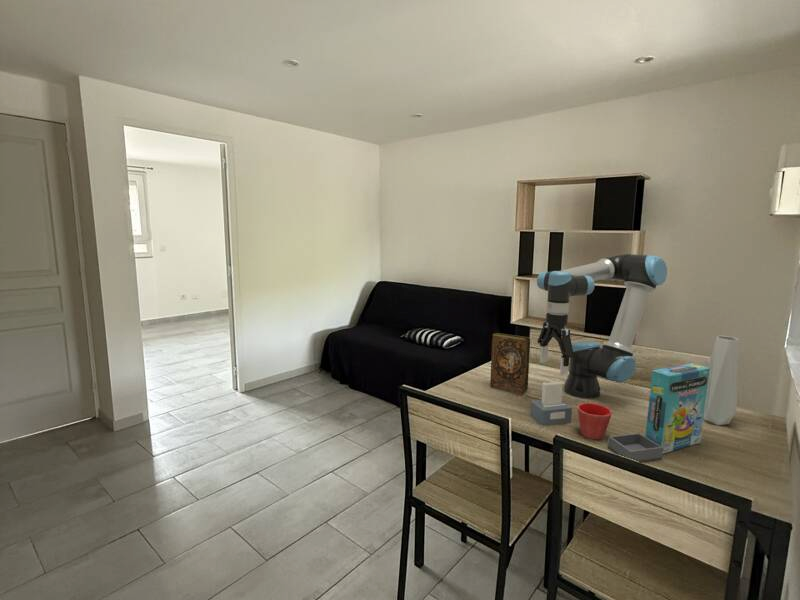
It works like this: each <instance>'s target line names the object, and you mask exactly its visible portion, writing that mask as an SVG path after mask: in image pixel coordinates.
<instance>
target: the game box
mask: <svg viewBox="0 0 800 600" xmlns="http://www.w3.org/2000/svg"><path fill="white" fill-rule="evenodd" d="M709 370H710V368H708V366H705V365H702V364H697V363H694V362H690V363H686V364H681V365H675V366H669V367H665V368H659V369H652V370H651V371H652V373H651V380H650V391H649V400H648V411H647V420H646V427H645V428H646V429H645V435H644V436H645V437H647V438H648V439H650V440H652V441H653V442H655V443H656V444H658V445H660V446H661V447H663V454H662V455H664V454H666V453H670V452H673V451H676V450H679V449H680V450H681V449H683V448H687V447H691V446H694V445H697V444H700V443H701V437H702V432H703V431H702V430H703V423H704V418H703V416H704V409H705V400H706V393H707V384H708V377H709Z"/></svg>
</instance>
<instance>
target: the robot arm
mask: <svg viewBox="0 0 800 600" xmlns="http://www.w3.org/2000/svg"><path fill="white" fill-rule="evenodd" d="M667 275H668V267H667V263H666V262H665V260H664V259H663V258H662V257H660V256H657V255H653V254H631V253H623V254H617V255H612V256H609V257H607V256H606V257H603V258H600V259H599V260H598V261H596V262H592V263H588V264H584V265H579V266H576V267H570V268H567V269H563V270H562V269H561V270H553V271H541V272H540V273H539V274H538V276H537V278H536V285H537V288H539V289H540V290H543V291H546V292H547V301H546V302H547V303H546V316H545V321H544V322H543V324H542V329H541V331H540V333H539V336H538V339H537V344H539V346H540V351H539V352H540V353H539V354H540V355H539V357H540V358H539V363H540V364H547V363H548V356H549V355H548V354H549V353H548V352H549V343H550V341H552V339H553V338H554V339H555V341H556V342H557V343H558V347H559V349H560V352H561V357H560V367H559V368H560V369H559V375H561V376H562V375H567V377H566V380H565V381H564V384H563V391H564V392H565V394H568V395H570V396H573V397H575V398H576V397H577V398H580V399H581V398H582V399H595V398H596V399H597V398H598V397H600V396H601V386H600V383H599V380H598V377H599V378H603V379H606V380H608V381H610V382H615V383H619V384H621V383H625V382H626V381H628V380H629V379H630V378H631V377H632V376H633V375H634V373H635V370H636V367H637V365H636V364H637V363H636V359H635V358H634V357H633V356H634V352H633V350H632V346H633V343H634V339H635V336H636V333H637V331H638V327H639V325H640V323H641V319H642V316H643V314H644V313H643V312H644V310H645V308H646V304H647V302H648V298H649V296H650V294H651V293H653V292H655V291H656V289H657V286H661V285H663V284H664V283H665V281H666V280H667ZM600 280H602V281H609V280H615V281H616V280H617V281H623V282H624V283H623V284H624V286H625V287H626V289H625V291H624V294H623V298H622V301H621V303H620V307H619V310H618V313H617V315H616V318H615V321H614V324H613V326H612V330H611V333H610V336H609V338H608V341H607V342H605V343H603V344H602V347H601V344H600V343H599V342H597V341H588V340H587V341H586V340H585V341H584V340H583V341H575V342H572V339H571V330H570V329H565V326H566V325H568V319H569V314H568V313H569V310H570V309H569V307H570V297H579V296H581V297H583V296H587V295H590V294H592V293H593V292H594V290H595V286H596V285H595V282H596V281H600Z"/></svg>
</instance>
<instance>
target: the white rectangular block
mask: <svg viewBox="0 0 800 600" xmlns="http://www.w3.org/2000/svg"><path fill="white" fill-rule="evenodd" d="M563 387H564V384H563V383H562V382H561V381H551V382H542V389H541V400H542V401H541V405H542V406H548V405H559V404H561V401H563V399H562V397H563Z"/></svg>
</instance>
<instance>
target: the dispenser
mask: <svg viewBox="0 0 800 600" xmlns="http://www.w3.org/2000/svg"><path fill="white" fill-rule="evenodd" d="M541 401H542V399H540V400H539V399H538V400H537V399H536V400H531V401H530V409H529V411H530V413H529V414H530V415H529V416H530V417H532V419H534V420H535V421H536V422H538V424H540V425H541V426H542V425H545V426H552V425H551V424H555V425H562V424H571V423H572V417H573V416H572V415H573V407H571V406H570V405H569V404H567V403H566V402H564V401H563V400H561V404H559V405H548V406H542V405H541Z"/></svg>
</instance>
